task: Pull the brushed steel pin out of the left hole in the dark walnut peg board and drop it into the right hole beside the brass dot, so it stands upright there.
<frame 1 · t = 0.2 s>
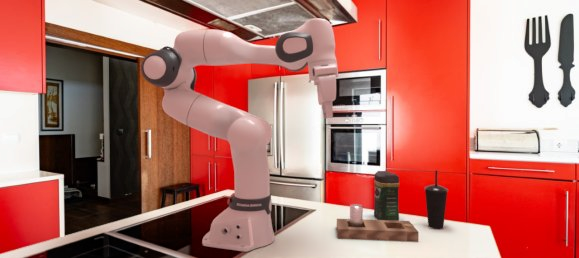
hand: (328, 117, 93), 39 cm above the worktop, tool pointing down, fingers open, 8 cm apart
drinking cup: (435, 227, 108), on the worktop
coffee jar: (386, 221, 114), on the worktop
board: (374, 237, 98), on the worktop
pin: (356, 233, 99), point 1 cm above the worktop, touching board
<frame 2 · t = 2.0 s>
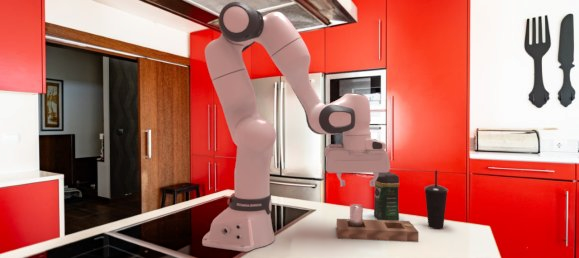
hand: (357, 186, 98), 16 cm above the worktop, tool pointing down, fingers open, 8 cm apart
nothing on the worktop moved.
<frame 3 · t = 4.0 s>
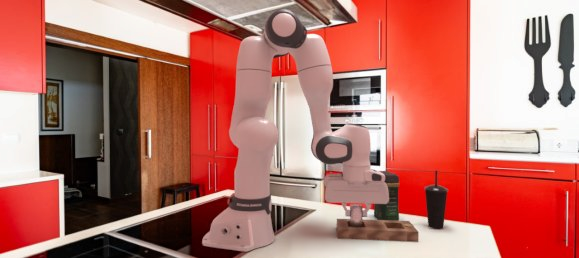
hand: (356, 216, 99), 7 cm above the worktop, tool pointing down, fingers closed on pin, 4 cm apart
pin: (356, 233, 99), point 1 cm above the worktop, touching board, gripper
everything else where it was.
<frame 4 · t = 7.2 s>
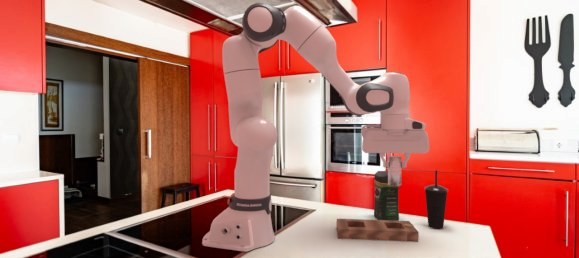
hand: (394, 167, 97), 23 cm above the worktop, tool pointing down, fingers closed on pin, 4 cm apart
pin: (394, 184, 97), point 17 cm above the worktop, touching gripper
everything else where it was.
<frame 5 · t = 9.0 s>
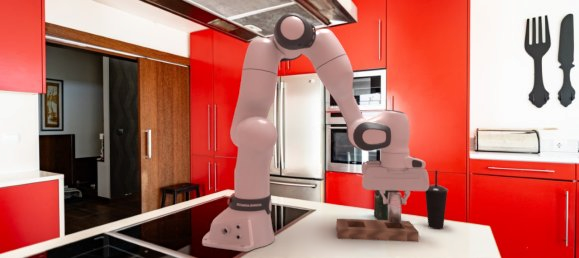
hand: (394, 203, 97), 11 cm above the worktop, tool pointing down, fingers closed on pin, 4 cm apart
pin: (394, 221, 98), point 5 cm above the worktop, touching gripper
everything else where it was.
when the fingers open (8 cm above the worktop, at t = 10.4 s): pin stays where it is, resting on board.
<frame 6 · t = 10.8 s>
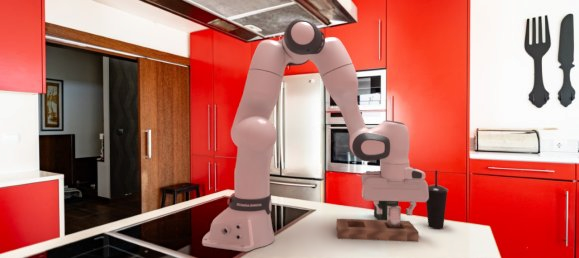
hand: (394, 214, 97), 8 cm above the worktop, tool pointing down, fingers open, 8 cm apart
pin: (393, 234, 98), point 1 cm above the worktop, touching board
everything else where it was.
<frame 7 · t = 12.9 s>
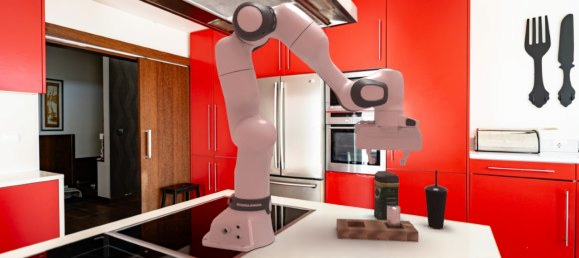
hand: (387, 164, 96), 24 cm above the worktop, tool pointing down, fingers open, 8 cm apart
nothing on the worktop moved.
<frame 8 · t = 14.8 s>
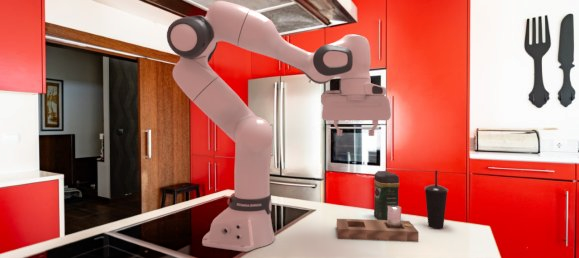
hand: (355, 135, 92), 33 cm above the worktop, tool pointing down, fingers open, 8 cm apart
nothing on the worktop moved.
at the end: pin 0.1 cm from the target spot on the board, point 1.0 cm above the board's base; pin tilted 1°; the gripper is holding nothing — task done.
